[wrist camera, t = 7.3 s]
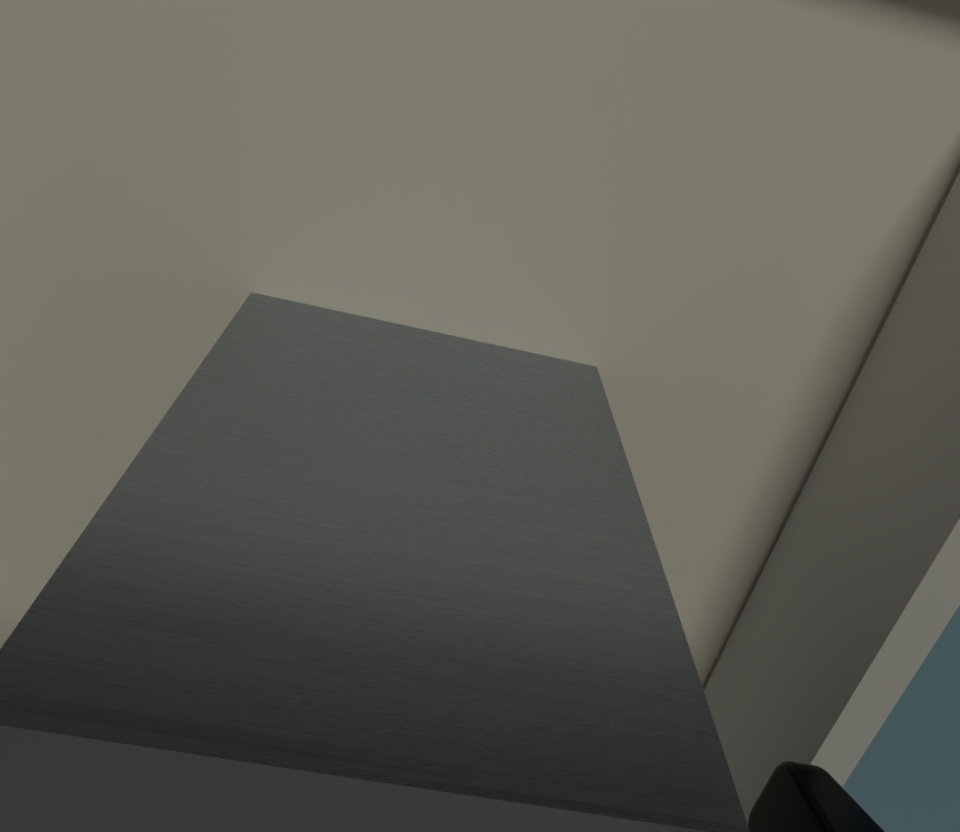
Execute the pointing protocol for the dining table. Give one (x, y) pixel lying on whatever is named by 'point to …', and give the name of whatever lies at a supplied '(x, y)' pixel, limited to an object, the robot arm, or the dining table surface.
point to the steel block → (364, 608)
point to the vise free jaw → (867, 583)
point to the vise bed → (471, 225)
